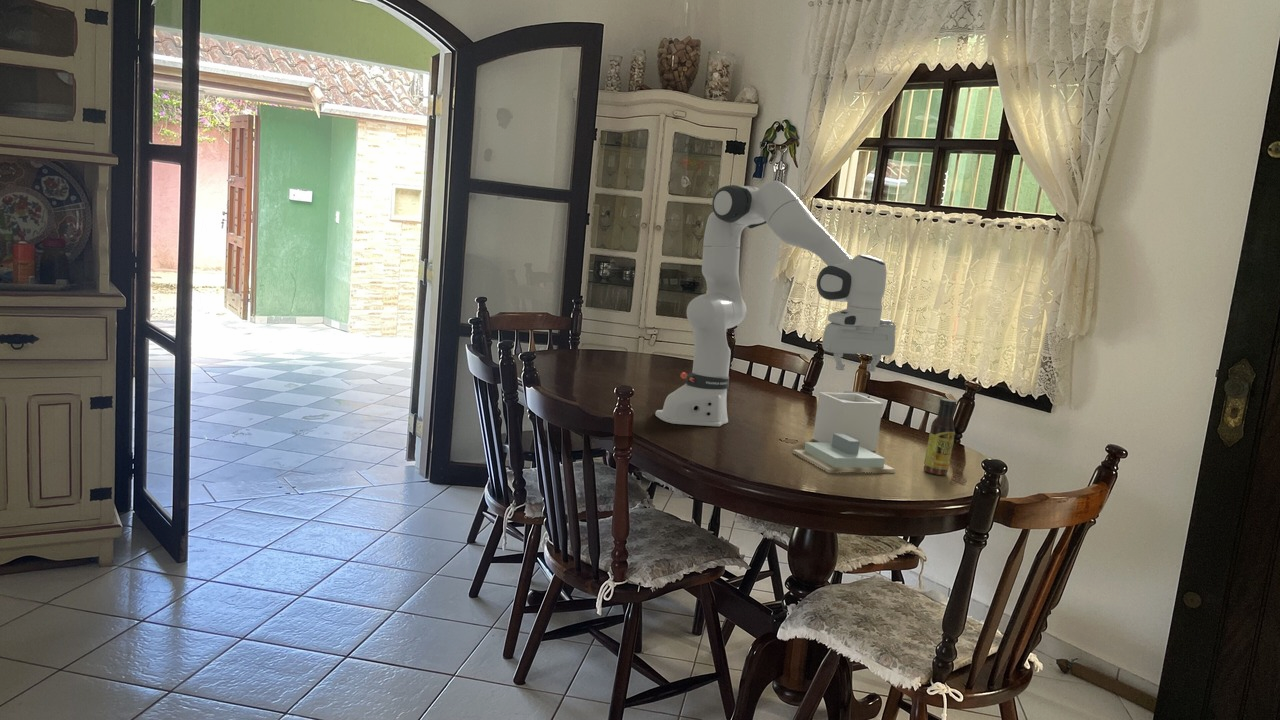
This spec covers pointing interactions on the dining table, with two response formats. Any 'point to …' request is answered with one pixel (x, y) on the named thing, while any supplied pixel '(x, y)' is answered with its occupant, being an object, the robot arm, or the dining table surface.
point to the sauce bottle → (941, 439)
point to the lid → (844, 453)
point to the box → (848, 418)
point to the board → (836, 470)
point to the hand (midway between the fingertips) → (855, 370)
